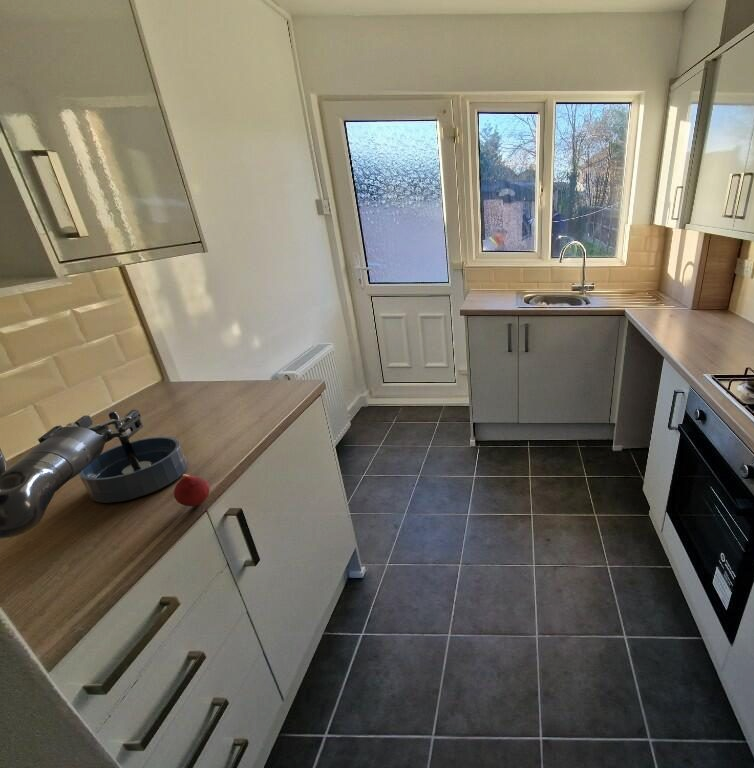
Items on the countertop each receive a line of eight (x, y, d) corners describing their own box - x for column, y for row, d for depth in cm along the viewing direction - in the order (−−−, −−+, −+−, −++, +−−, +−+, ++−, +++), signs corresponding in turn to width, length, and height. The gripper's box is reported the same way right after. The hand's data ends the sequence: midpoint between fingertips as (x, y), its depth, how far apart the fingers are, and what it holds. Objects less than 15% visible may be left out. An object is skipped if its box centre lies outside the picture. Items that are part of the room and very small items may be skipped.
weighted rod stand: (125, 488, 92) (93, 420, 86) (127, 477, 96) (97, 411, 89) (155, 479, 95) (126, 412, 88) (156, 469, 99) (128, 404, 92)
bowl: (85, 516, 85) (71, 490, 82) (97, 476, 98) (85, 452, 95) (189, 484, 94) (179, 460, 92) (187, 451, 107) (179, 429, 105)
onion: (215, 493, 91) (204, 463, 88) (212, 508, 86) (200, 477, 83) (182, 502, 88) (170, 471, 85) (178, 518, 84) (164, 486, 81)
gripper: (103, 431, 75) (146, 396, 90) (3, 444, 72) (64, 405, 86) (119, 465, 78) (158, 426, 93) (23, 480, 75) (79, 436, 89)
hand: (113, 416), depth 89 cm, fingers open, 8 cm apart
